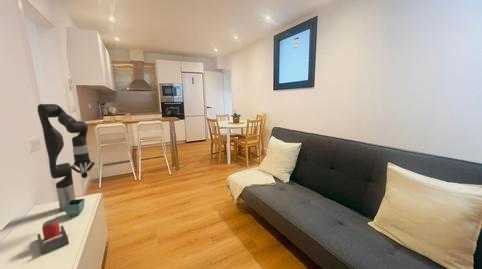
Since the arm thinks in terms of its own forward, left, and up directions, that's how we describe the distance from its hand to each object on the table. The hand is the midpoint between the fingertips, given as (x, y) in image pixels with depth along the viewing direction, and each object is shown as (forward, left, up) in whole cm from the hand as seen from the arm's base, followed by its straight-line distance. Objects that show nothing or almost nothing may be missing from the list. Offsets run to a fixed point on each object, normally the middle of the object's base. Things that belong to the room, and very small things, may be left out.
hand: (84, 177), depth 130 cm
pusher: (+20, -20, -27) cm, 39 cm away
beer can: (+16, -20, -27) cm, 37 cm away
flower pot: (-9, -6, -27) cm, 29 cm away
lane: (+17, -20, -27) cm, 38 cm away
